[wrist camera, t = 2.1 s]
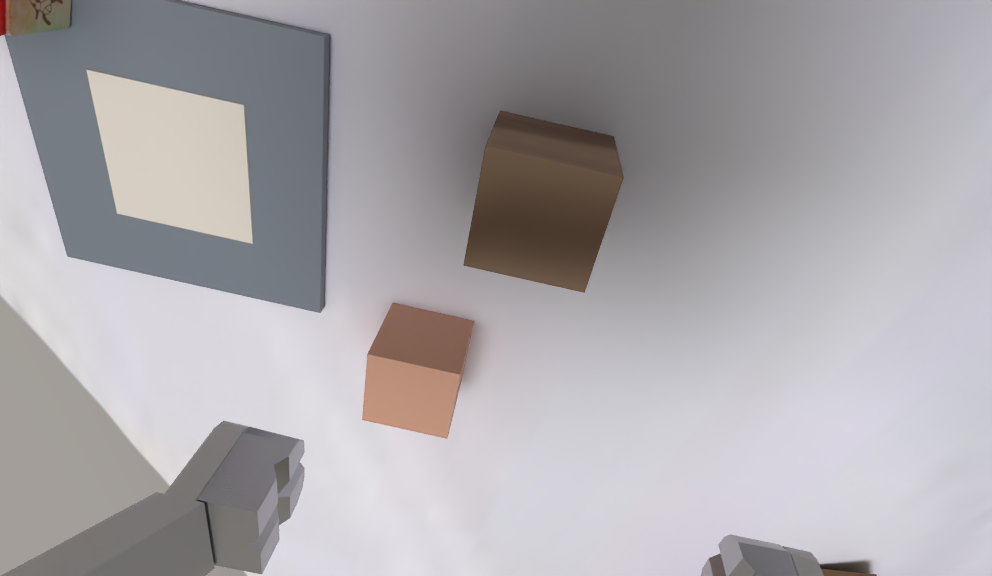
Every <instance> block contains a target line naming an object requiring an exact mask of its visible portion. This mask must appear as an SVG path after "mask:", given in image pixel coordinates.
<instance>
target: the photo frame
mask: <svg viewBox="0 0 992 576" xmlns="http://www.w3.org/2000/svg"><path fill="white" fill-rule="evenodd" d="M821 570H822V573H823V575H824V576H877V575H875V574H866V573H857V572H847V571H838V570H829V569H821Z"/></svg>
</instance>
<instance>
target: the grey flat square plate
mask: <svg viewBox="0 0 992 576" xmlns="http://www.w3.org/2000/svg"><path fill="white" fill-rule="evenodd" d="M5 38H6V41H7V45H8V48H9V52H10V56H11V59H12V63H13V66H14V70H15V73H16V77H17V80H18V84H19V87H20V91H21V94H22V98H23V101H24V105H25V108H26V112H27V116H28V119H29V123H30V126H31V130H32V133H33V137H34V140H35V144H36V147H37V151H38V154H39V158H40V161H41V165H42V168H43V172H44V176H45V179H46V183H47V186H48V190H49V193H50V197H51V200H52V204H53V207H54V211H55V214H56V218H57V221H58V225H59V228H60V232H61V236H62V239H63V243H64V246H65V250H66V253H67V256H68V257H72V258H77V259H81V260H86V261H90V262H95V263H99V264H104V265H108V266H113V267H117V268H122V269H126V270H130V271H135V272H139V273H144V274H148V275H153V276H157V277H162V278H166V279H171V280H175V281H180V282H184V283H189V284H193V285H198V286H202V287H207V288H211V289H216V290H220V291H225V292H229V293H234V294H238V295H242V296H247V297H251V298H256V299H260V300H265V301H269V302H274V303H278V304H283V305H287V306H292V307H296V308H301V309H305V310H310V311H314V312H319V313H320V312H321V311H322V310H323V308H324V303H325V252H326V202H327V152H328V102H329V52H330V35H329V34H324V33H320V32H316V31H311V30H307V29H302V28H298V27H294V26H289V25H285V24H280V23H276V22H272V21H267V20H263V19H258V18H254V17H250V16H245V15H241V14H236V13H232V12H228V11H223V10H219V9H214V8H210V7H205V6H201V5H197V4H192V3H188V2H183V1H179V0H71V9H70V26H69V27H68V28H67V29H60V30H54V31H48V32H40V33H34V34H25V35H17V36H8V35H5Z"/></svg>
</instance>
